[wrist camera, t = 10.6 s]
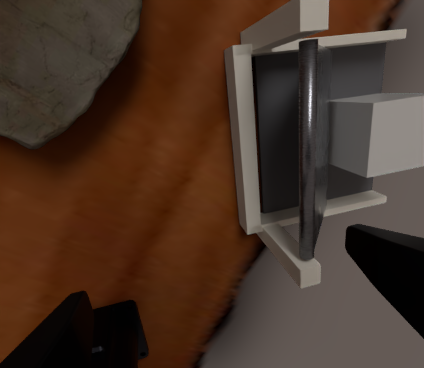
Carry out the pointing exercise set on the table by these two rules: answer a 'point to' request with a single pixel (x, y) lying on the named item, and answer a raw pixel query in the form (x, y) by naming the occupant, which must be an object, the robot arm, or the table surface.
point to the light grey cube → (377, 133)
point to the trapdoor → (313, 141)
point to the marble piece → (57, 61)
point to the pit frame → (293, 122)
